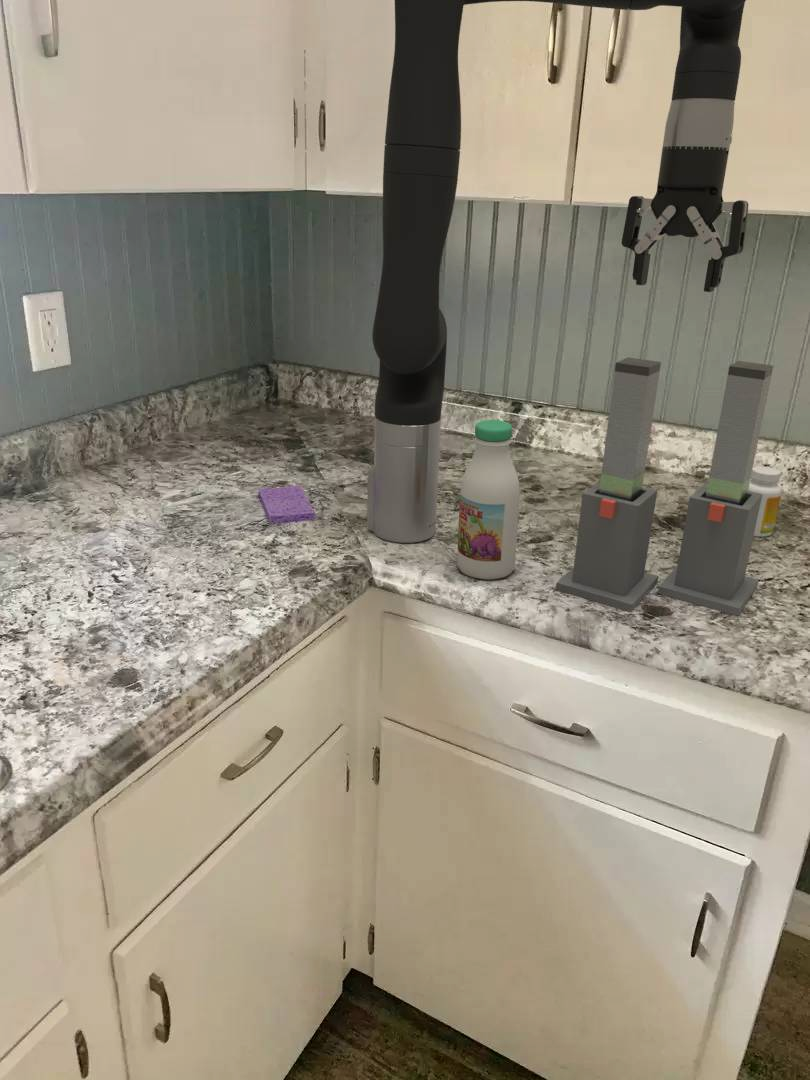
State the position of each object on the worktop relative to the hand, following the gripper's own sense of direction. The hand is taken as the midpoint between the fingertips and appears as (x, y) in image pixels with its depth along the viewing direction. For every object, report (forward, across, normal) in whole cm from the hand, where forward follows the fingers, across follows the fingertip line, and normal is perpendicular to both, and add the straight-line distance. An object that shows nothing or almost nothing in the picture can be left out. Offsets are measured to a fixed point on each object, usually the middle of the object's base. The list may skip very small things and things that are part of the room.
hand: (674, 288), depth 105 cm
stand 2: (+36, +12, -6) cm, 39 cm away
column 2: (+29, +12, -6) cm, 32 cm away
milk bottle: (+36, -14, -18) cm, 43 cm away
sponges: (+37, -50, -17) cm, 65 cm away
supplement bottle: (+36, +12, +19) cm, 43 cm away
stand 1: (+36, +1, -13) cm, 38 cm away
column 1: (+29, +1, -13) cm, 32 cm away
